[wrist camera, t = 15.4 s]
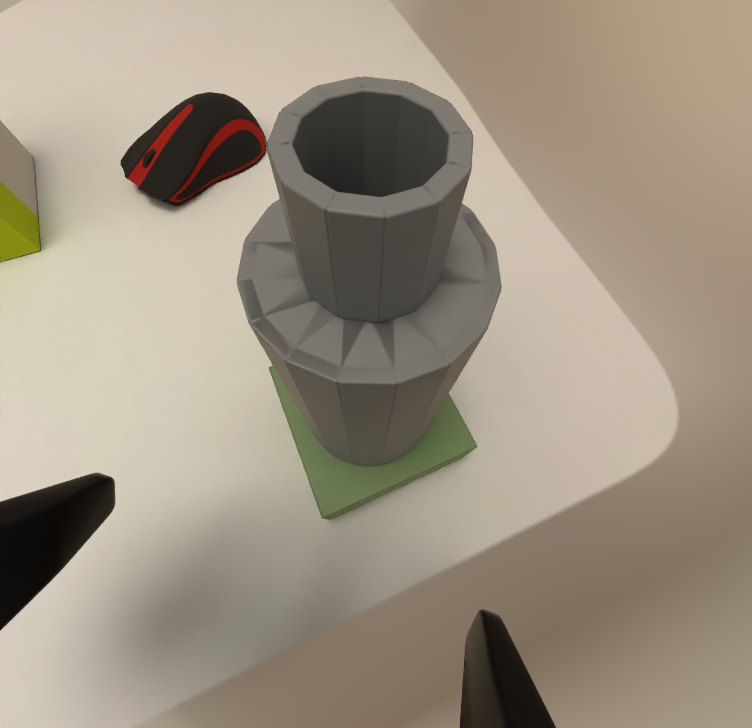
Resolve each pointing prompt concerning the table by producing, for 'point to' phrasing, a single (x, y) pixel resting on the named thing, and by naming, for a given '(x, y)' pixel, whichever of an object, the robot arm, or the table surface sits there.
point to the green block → (364, 483)
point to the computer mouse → (194, 148)
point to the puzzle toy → (17, 199)
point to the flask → (369, 263)
